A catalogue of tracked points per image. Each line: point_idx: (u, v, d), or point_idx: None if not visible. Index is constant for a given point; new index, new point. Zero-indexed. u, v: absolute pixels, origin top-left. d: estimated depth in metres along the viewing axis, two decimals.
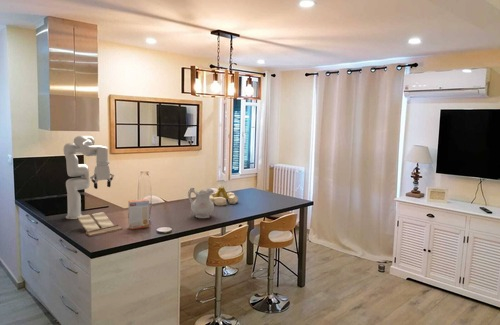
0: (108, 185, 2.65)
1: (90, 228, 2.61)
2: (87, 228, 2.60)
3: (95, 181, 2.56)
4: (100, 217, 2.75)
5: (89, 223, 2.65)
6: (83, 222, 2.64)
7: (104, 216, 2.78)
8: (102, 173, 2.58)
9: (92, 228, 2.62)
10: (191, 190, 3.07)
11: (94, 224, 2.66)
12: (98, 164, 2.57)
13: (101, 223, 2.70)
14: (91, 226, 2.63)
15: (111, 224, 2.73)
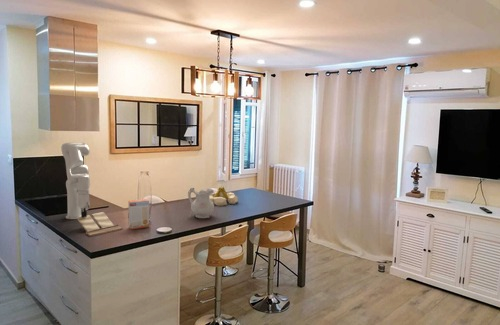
0: None
1: (90, 228, 2.61)
2: (87, 228, 2.60)
3: (86, 210, 2.69)
4: (100, 217, 2.75)
5: (89, 224, 2.65)
6: (83, 222, 2.64)
7: (104, 216, 2.78)
8: None
9: (92, 228, 2.62)
10: (191, 190, 3.07)
11: (94, 225, 2.66)
12: (87, 192, 2.66)
13: (101, 223, 2.70)
14: (91, 226, 2.63)
15: (111, 224, 2.73)
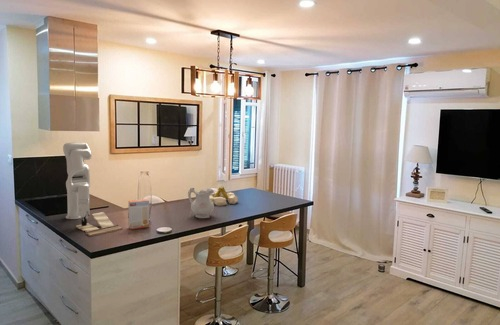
0: None
1: (89, 229, 2.62)
2: (86, 230, 2.61)
3: (86, 219, 2.70)
4: (100, 217, 2.75)
5: (88, 227, 2.66)
6: (82, 227, 2.65)
7: (104, 216, 2.78)
8: None
9: (92, 229, 2.62)
10: (191, 190, 3.07)
11: (93, 227, 2.67)
12: (87, 201, 2.67)
13: (101, 223, 2.70)
14: (90, 228, 2.64)
15: (111, 224, 2.73)
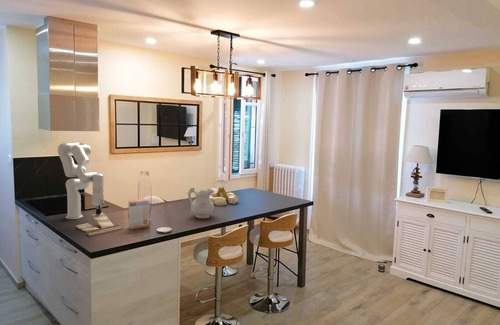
0: None
1: (89, 229, 2.62)
2: (86, 230, 2.61)
3: None
4: (100, 218, 2.75)
5: (88, 227, 2.66)
6: (82, 227, 2.65)
7: (104, 216, 2.78)
8: None
9: (92, 229, 2.62)
10: (191, 190, 3.07)
11: (93, 227, 2.67)
12: (102, 190, 2.75)
13: (101, 223, 2.70)
14: (90, 228, 2.64)
15: (111, 224, 2.73)
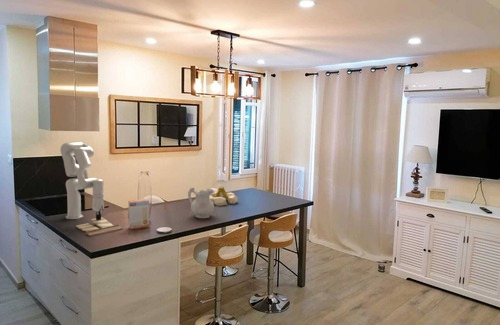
0: None
1: (89, 229, 2.62)
2: (86, 230, 2.61)
3: None
4: (100, 221, 2.76)
5: (88, 227, 2.66)
6: (82, 227, 2.65)
7: (103, 220, 2.79)
8: None
9: (92, 229, 2.62)
10: (191, 190, 3.07)
11: (93, 227, 2.67)
12: (102, 196, 2.75)
13: (100, 225, 2.70)
14: (90, 228, 2.64)
15: (111, 225, 2.73)
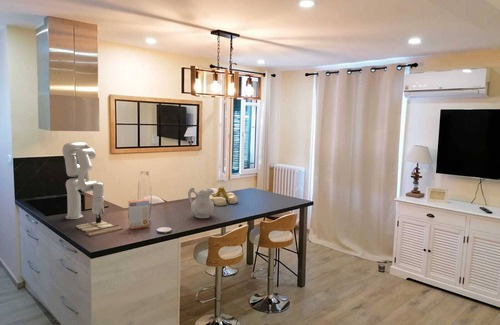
0: None
1: (89, 229, 2.62)
2: (86, 230, 2.61)
3: None
4: (99, 223, 2.77)
5: (88, 227, 2.66)
6: (82, 227, 2.65)
7: (103, 222, 2.79)
8: None
9: (92, 229, 2.62)
10: (191, 190, 3.07)
11: (93, 227, 2.67)
12: (102, 199, 2.75)
13: (100, 226, 2.71)
14: (90, 228, 2.64)
15: (110, 225, 2.73)
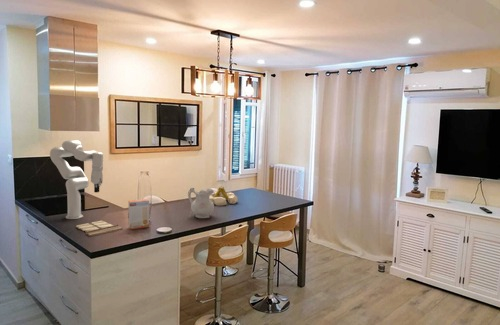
0: None
1: (89, 229, 2.62)
2: (86, 230, 2.61)
3: (99, 186, 2.79)
4: (99, 223, 2.77)
5: (88, 227, 2.66)
6: (82, 227, 2.65)
7: (103, 222, 2.79)
8: None
9: (92, 229, 2.62)
10: (191, 190, 3.07)
11: (93, 227, 2.67)
12: (101, 169, 2.76)
13: (100, 226, 2.71)
14: (90, 228, 2.64)
15: (110, 225, 2.73)
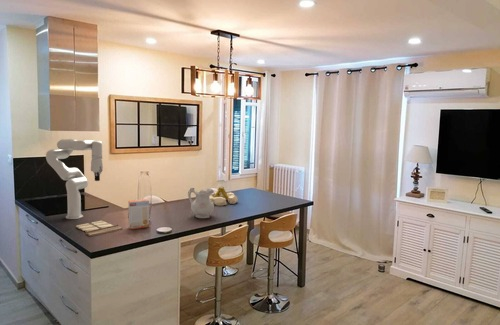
0: None
1: (89, 229, 2.62)
2: (86, 230, 2.61)
3: (99, 174, 2.82)
4: (99, 223, 2.77)
5: (88, 227, 2.66)
6: (82, 227, 2.65)
7: (103, 222, 2.79)
8: None
9: (92, 229, 2.62)
10: (191, 190, 3.07)
11: (93, 227, 2.67)
12: (100, 157, 2.79)
13: (100, 226, 2.71)
14: (90, 228, 2.64)
15: (110, 225, 2.73)
